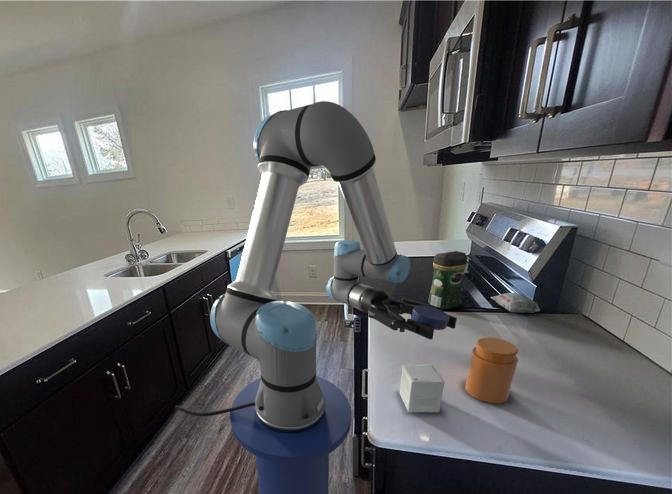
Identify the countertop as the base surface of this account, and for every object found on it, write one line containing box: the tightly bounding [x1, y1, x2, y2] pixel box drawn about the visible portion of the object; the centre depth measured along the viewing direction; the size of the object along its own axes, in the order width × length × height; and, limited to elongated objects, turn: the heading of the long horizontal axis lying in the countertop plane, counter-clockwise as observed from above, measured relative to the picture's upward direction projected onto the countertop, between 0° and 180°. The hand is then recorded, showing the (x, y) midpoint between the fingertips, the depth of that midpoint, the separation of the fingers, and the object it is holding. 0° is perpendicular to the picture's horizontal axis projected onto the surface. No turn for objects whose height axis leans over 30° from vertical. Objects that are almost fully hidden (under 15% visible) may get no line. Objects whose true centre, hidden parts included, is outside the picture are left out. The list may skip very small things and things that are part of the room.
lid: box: [410, 305, 450, 331], centre depth 76 cm, size 8×8×2 cm
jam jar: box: [464, 336, 519, 405], centre depth 65 cm, size 8×8×11 cm
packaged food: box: [490, 292, 541, 314], centre depth 102 cm, size 9×12×5 cm
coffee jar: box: [427, 250, 468, 310], centre depth 105 cm, size 10×8×19 cm
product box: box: [399, 363, 445, 413], centre depth 63 cm, size 6×6×7 cm
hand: (443, 328), depth 73 cm, fingers closed on lid, 8 cm apart
